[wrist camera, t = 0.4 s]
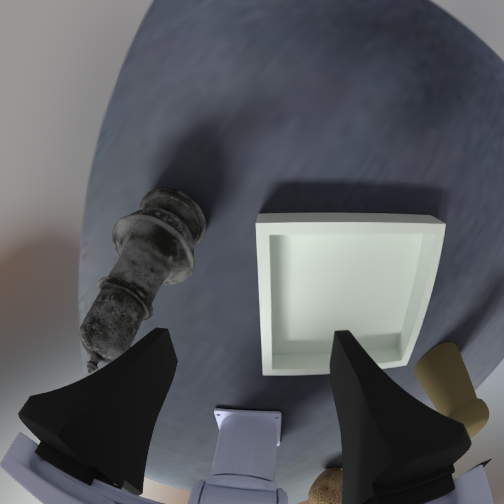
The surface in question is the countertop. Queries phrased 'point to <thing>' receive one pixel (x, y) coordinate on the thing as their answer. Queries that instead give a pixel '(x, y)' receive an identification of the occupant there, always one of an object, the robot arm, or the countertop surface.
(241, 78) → the countertop surface
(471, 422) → the cork
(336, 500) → the natural sponge
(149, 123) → the countertop surface
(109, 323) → the gray chess piece
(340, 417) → the robot arm
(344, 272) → the tray
